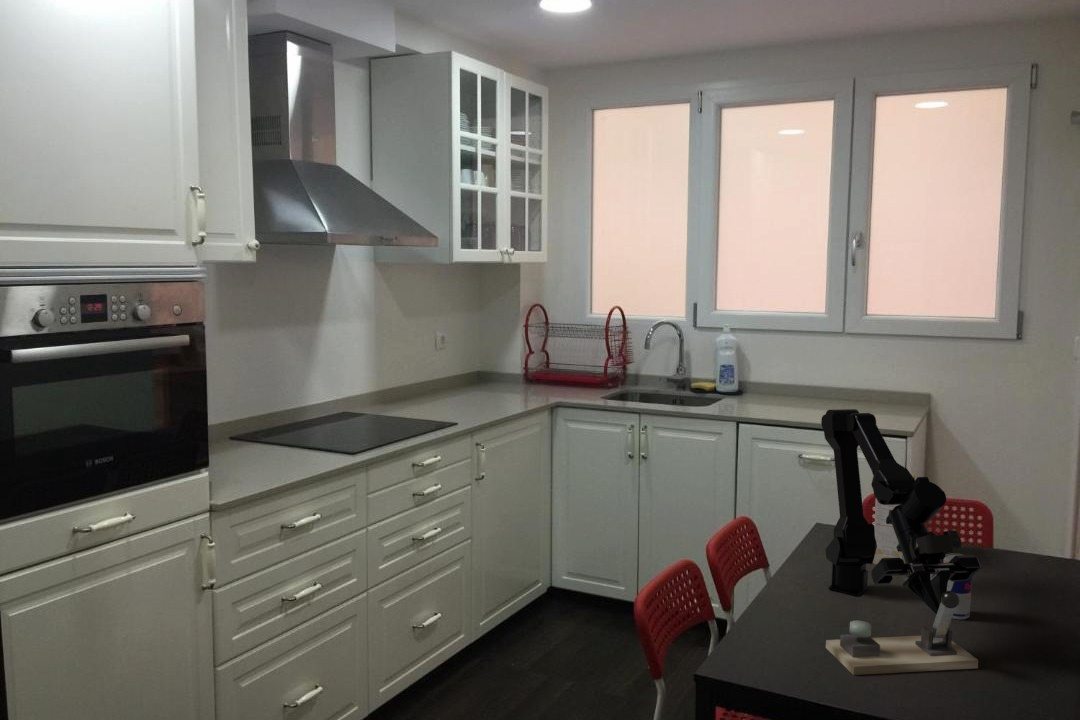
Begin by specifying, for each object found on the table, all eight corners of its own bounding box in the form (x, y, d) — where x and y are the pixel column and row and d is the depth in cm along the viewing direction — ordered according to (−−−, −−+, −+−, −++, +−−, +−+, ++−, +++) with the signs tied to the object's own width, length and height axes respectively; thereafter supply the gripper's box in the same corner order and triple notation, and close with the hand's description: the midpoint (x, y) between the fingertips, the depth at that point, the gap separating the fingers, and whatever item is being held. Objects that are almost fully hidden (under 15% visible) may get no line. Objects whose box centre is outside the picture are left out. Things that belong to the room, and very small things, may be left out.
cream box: (882, 546, 227) (885, 470, 224) (912, 551, 223) (916, 473, 221) (871, 563, 214) (874, 482, 212) (903, 569, 210) (907, 486, 208)
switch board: (825, 647, 167) (826, 620, 166) (942, 642, 170) (944, 614, 169) (853, 674, 156) (854, 645, 156) (977, 668, 159) (979, 639, 158)
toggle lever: (922, 637, 165) (939, 587, 159) (938, 636, 165) (955, 586, 159) (931, 649, 162) (948, 599, 156) (946, 649, 162) (964, 598, 157)
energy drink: (972, 621, 180) (976, 562, 179) (944, 619, 181) (947, 560, 180) (965, 611, 185) (969, 554, 184) (937, 608, 186) (941, 552, 185)
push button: (845, 629, 164) (846, 620, 163) (864, 628, 164) (865, 620, 164) (855, 637, 160) (855, 628, 160) (874, 636, 161) (874, 628, 160)
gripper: (882, 515, 163) (911, 597, 154) (978, 512, 166) (1013, 593, 156) (859, 543, 172) (885, 623, 162) (951, 540, 174) (982, 618, 165)
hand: (941, 614), depth 161 cm, fingers closed, pressing on toggle lever
